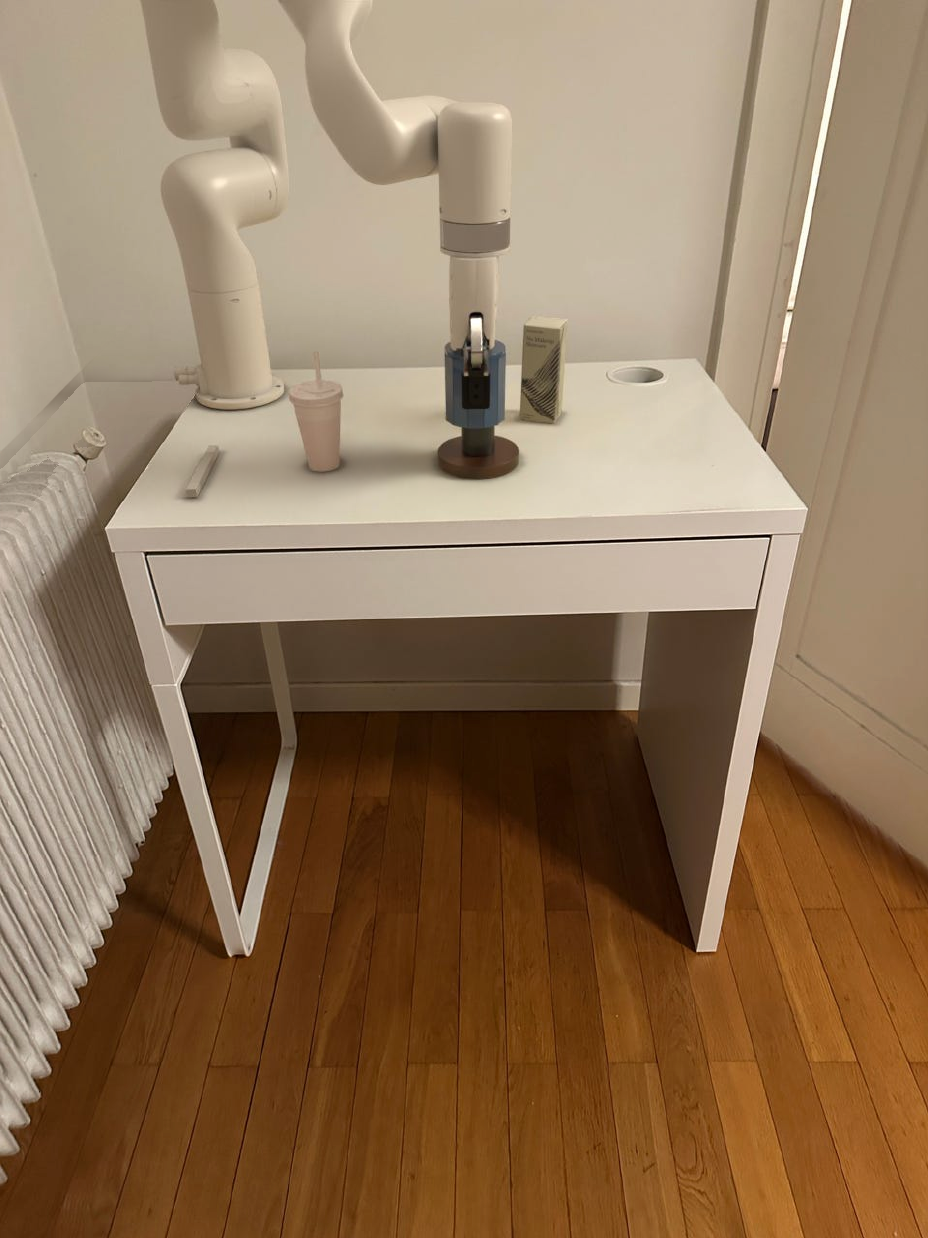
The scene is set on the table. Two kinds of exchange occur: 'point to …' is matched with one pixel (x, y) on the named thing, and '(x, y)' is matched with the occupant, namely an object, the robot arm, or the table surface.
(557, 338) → the box
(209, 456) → the grey long thin bar
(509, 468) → the disc
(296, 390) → the smoothie
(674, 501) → the table surface
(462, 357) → the blue cylinder
